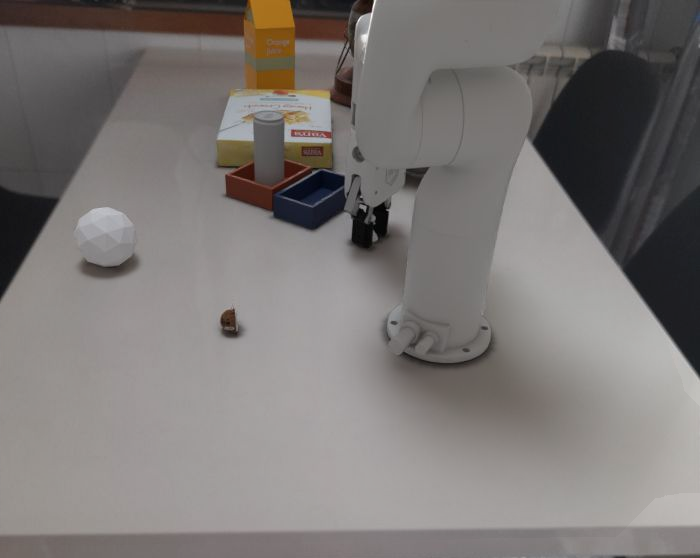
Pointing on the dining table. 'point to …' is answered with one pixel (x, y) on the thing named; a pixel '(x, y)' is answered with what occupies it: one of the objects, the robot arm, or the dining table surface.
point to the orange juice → (269, 45)
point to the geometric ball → (105, 237)
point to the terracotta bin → (248, 190)
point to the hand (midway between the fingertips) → (369, 237)
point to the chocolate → (229, 320)
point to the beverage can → (269, 147)
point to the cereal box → (300, 125)
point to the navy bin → (311, 199)
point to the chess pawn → (373, 230)
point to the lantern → (344, 76)
